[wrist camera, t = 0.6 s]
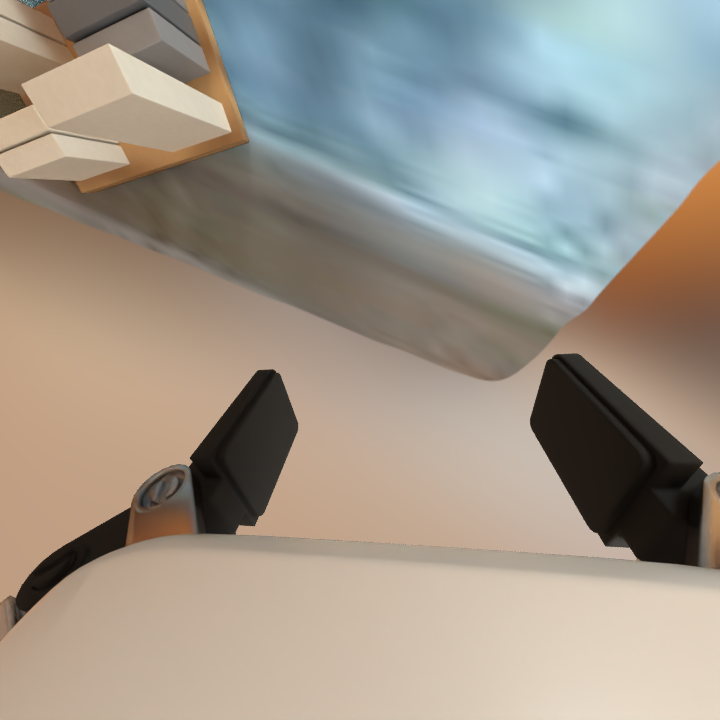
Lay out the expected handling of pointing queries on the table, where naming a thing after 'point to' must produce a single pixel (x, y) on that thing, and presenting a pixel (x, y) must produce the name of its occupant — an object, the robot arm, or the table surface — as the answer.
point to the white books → (26, 127)
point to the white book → (125, 102)
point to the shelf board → (209, 84)
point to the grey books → (135, 32)
